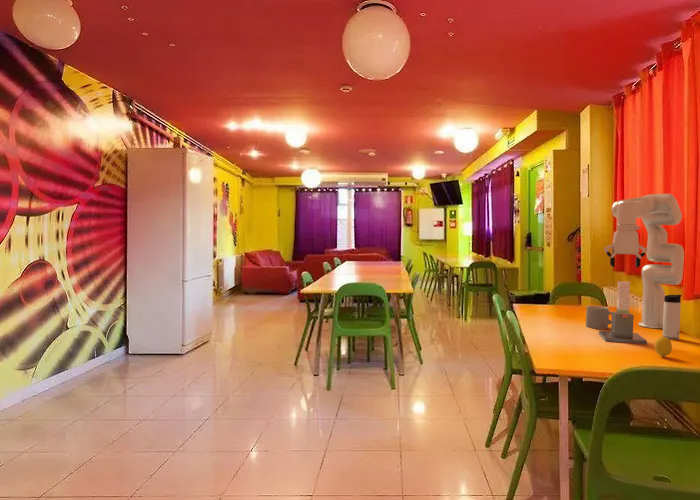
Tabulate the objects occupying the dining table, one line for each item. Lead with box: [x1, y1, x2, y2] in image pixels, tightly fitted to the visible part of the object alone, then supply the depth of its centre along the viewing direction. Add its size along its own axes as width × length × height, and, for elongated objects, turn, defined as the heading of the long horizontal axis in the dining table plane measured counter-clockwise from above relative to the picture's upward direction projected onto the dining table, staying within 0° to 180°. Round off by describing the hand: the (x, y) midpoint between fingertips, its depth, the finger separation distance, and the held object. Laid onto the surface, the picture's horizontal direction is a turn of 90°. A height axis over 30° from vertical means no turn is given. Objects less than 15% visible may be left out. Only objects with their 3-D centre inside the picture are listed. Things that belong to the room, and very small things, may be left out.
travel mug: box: [662, 294, 683, 341], centre depth 223 cm, size 6×7×20 cm
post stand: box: [598, 311, 648, 345], centre depth 221 cm, size 16×16×12 cm
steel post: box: [616, 280, 631, 315], centre depth 221 cm, size 4×4×18 cm
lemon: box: [654, 335, 673, 358], centre depth 190 cm, size 6×6×8 cm
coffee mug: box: [585, 305, 613, 330], centre depth 247 cm, size 13×10×10 cm
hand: (624, 267), depth 220 cm, fingers open, 9 cm apart
